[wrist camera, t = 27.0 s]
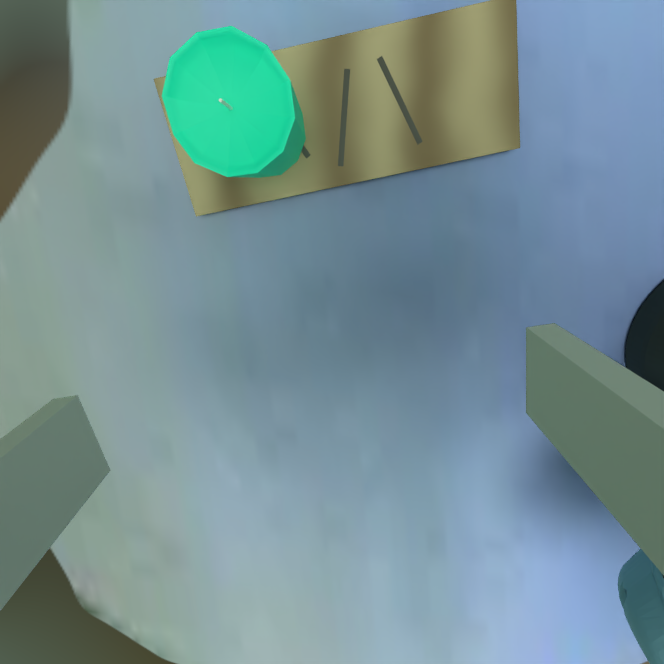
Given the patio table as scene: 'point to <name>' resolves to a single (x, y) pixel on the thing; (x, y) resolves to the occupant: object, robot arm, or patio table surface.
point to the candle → (233, 105)
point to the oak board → (387, 104)
